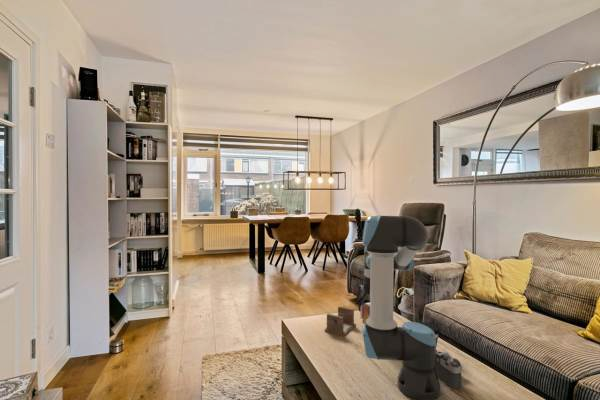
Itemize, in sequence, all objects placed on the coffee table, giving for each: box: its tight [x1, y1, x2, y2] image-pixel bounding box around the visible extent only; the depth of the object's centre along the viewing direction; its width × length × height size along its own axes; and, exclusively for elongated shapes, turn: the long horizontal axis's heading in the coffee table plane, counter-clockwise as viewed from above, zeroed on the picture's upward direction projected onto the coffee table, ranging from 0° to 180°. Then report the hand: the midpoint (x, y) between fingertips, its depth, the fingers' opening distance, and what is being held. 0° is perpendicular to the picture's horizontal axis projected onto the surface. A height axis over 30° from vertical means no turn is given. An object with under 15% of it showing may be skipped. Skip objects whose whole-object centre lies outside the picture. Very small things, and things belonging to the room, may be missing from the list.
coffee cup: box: [419, 322, 441, 347], centre depth 147 cm, size 11×11×12 cm
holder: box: [324, 305, 357, 337], centre depth 173 cm, size 18×11×9 cm, turn 147°
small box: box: [362, 301, 370, 325], centre depth 164 cm, size 8×6×10 cm
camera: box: [435, 349, 462, 390], centre depth 127 cm, size 16×10×10 cm, turn 18°
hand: (371, 319), depth 164 cm, fingers closed on small box, 9 cm apart
